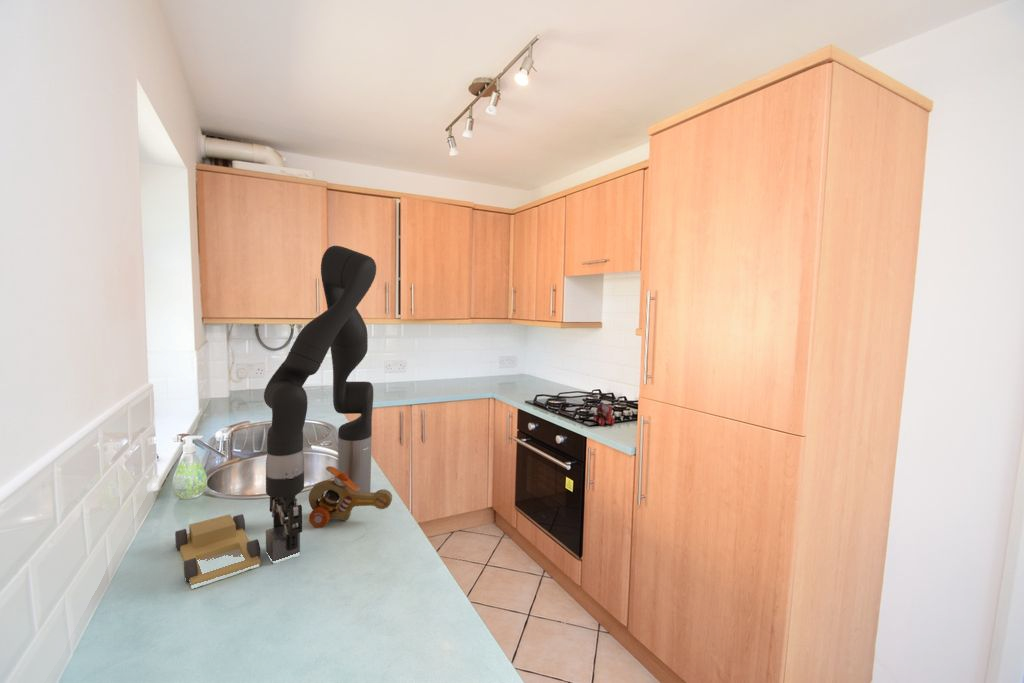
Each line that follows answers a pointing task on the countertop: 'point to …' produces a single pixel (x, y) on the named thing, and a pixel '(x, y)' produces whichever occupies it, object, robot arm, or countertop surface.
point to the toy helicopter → (341, 499)
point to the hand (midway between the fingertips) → (285, 540)
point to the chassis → (216, 546)
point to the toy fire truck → (604, 414)
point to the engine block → (279, 543)
